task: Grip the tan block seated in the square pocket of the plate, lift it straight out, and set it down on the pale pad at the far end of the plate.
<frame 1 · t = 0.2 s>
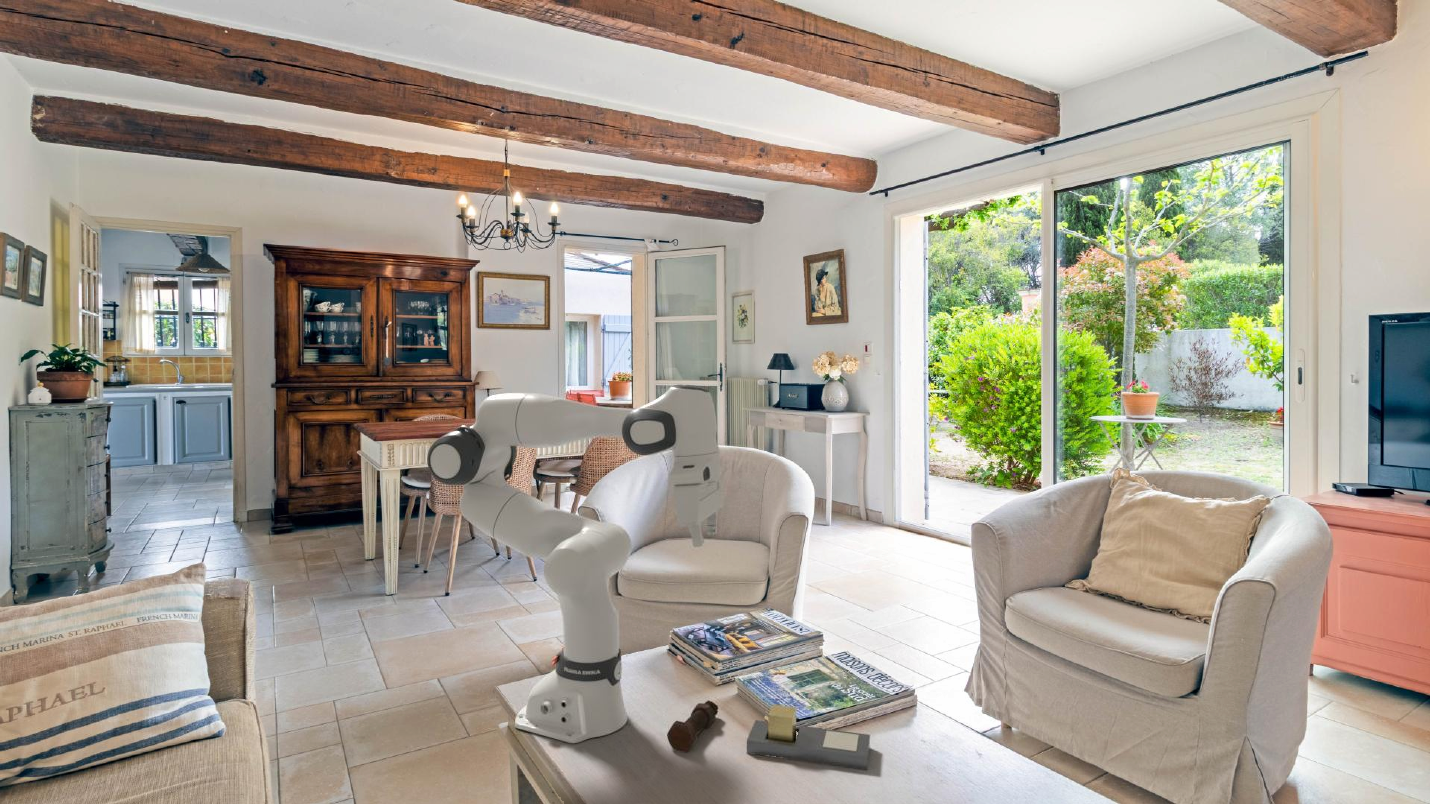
hand: (705, 540, 142), 39 cm above the table, tool pointing down, fingers open, 8 cm apart
tan block: (782, 747, 140), resting in plate
bolt: (697, 734, 146), on the table
plate: (808, 750, 139), on the table
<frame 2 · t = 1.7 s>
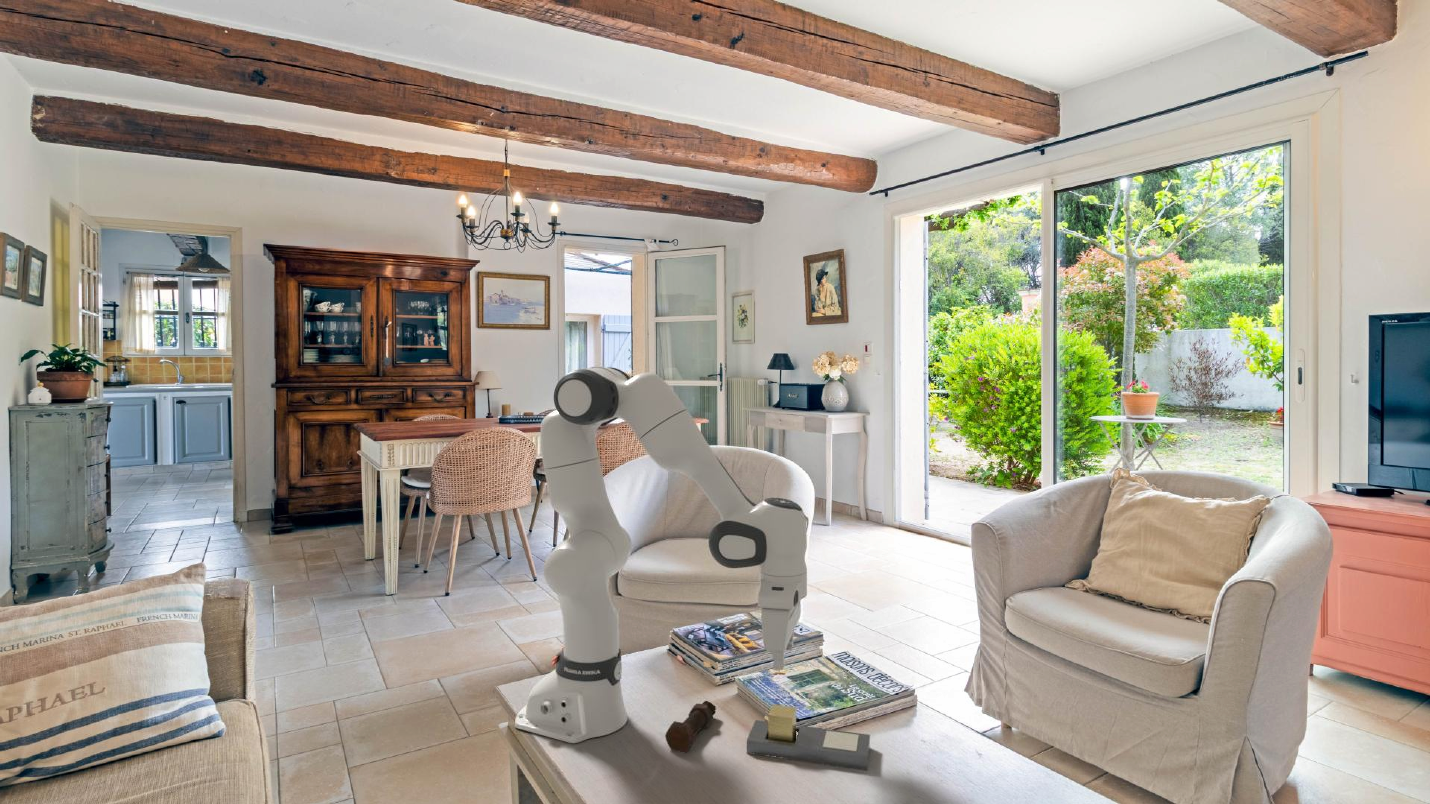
hand: (783, 658, 139), 17 cm above the table, tool pointing down, fingers open, 8 cm apart
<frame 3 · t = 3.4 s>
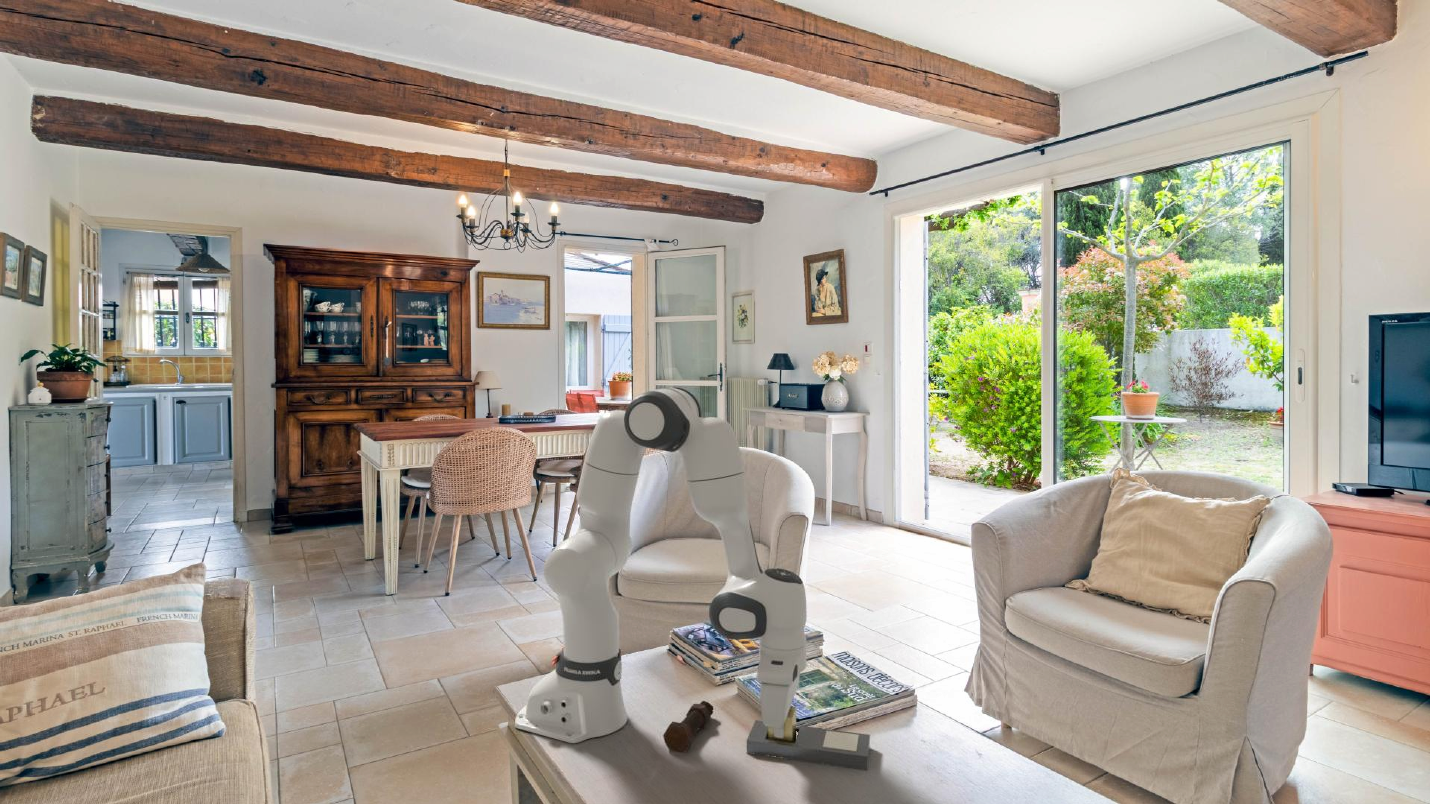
hand: (782, 728, 140), 4 cm above the table, tool pointing down, fingers closed on tan block, 4 cm apart
tan block: (782, 747, 140), resting in plate, touching gripper
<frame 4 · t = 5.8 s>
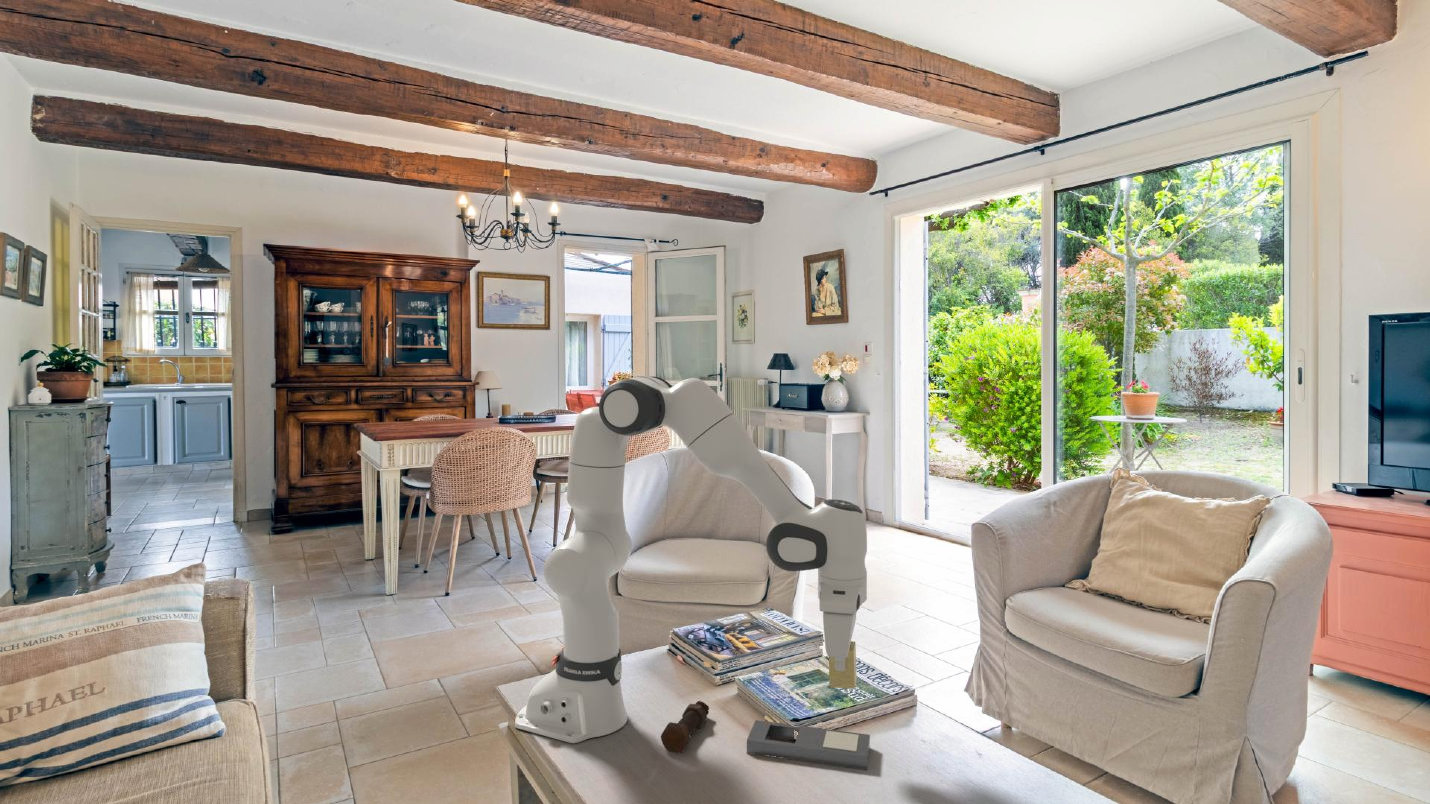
hand: (842, 663, 136), 17 cm above the table, tool pointing down, fingers closed on tan block, 4 cm apart
tan block: (843, 682, 137), point 14 cm above the table, touching gripper
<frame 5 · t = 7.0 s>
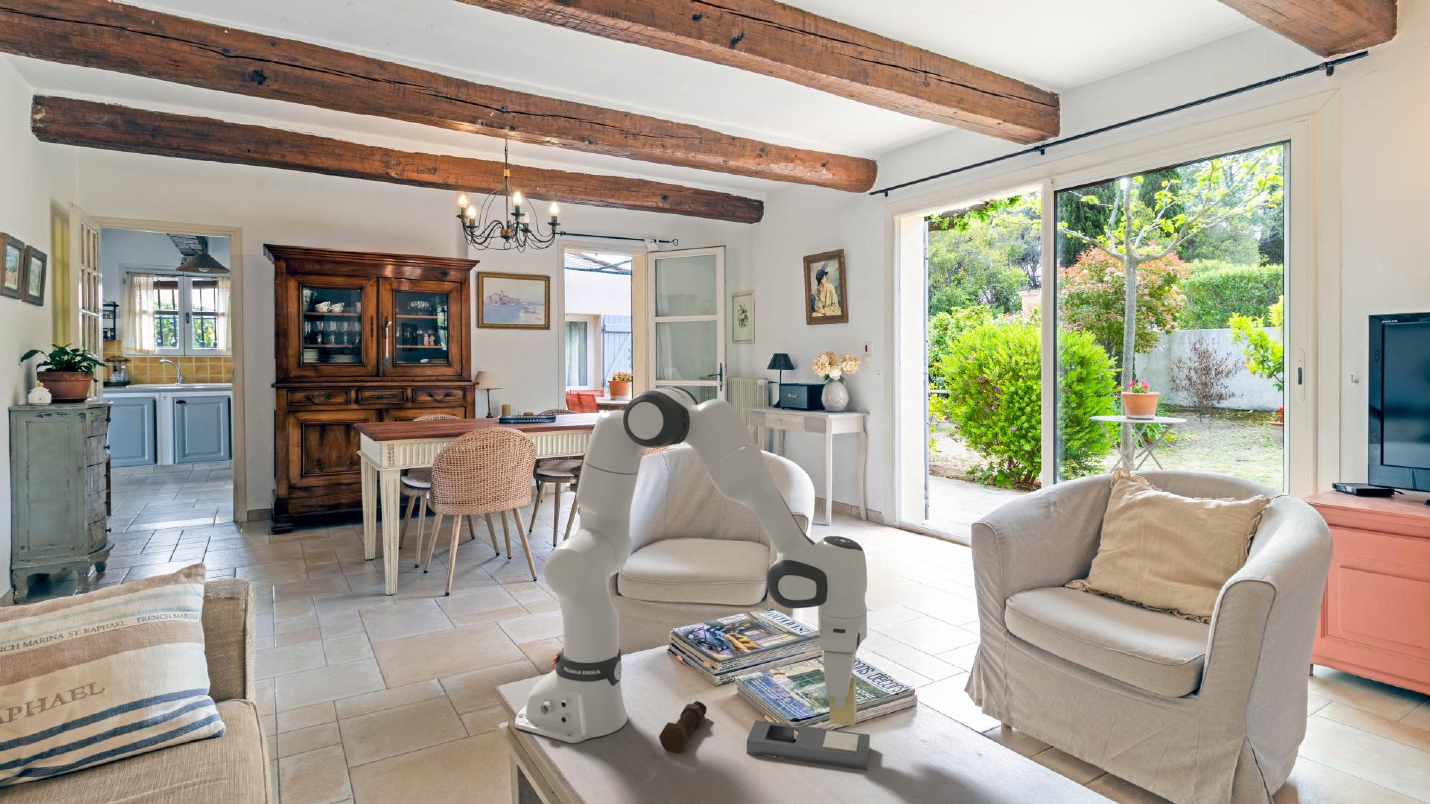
hand: (842, 699, 137), 11 cm above the table, tool pointing down, fingers closed on tan block, 4 cm apart
tan block: (843, 719, 137), point 7 cm above the table, touching gripper
when the fingers open (7 cm above the table, at t = 8.0 s): tan block stays where it is, resting on plate.
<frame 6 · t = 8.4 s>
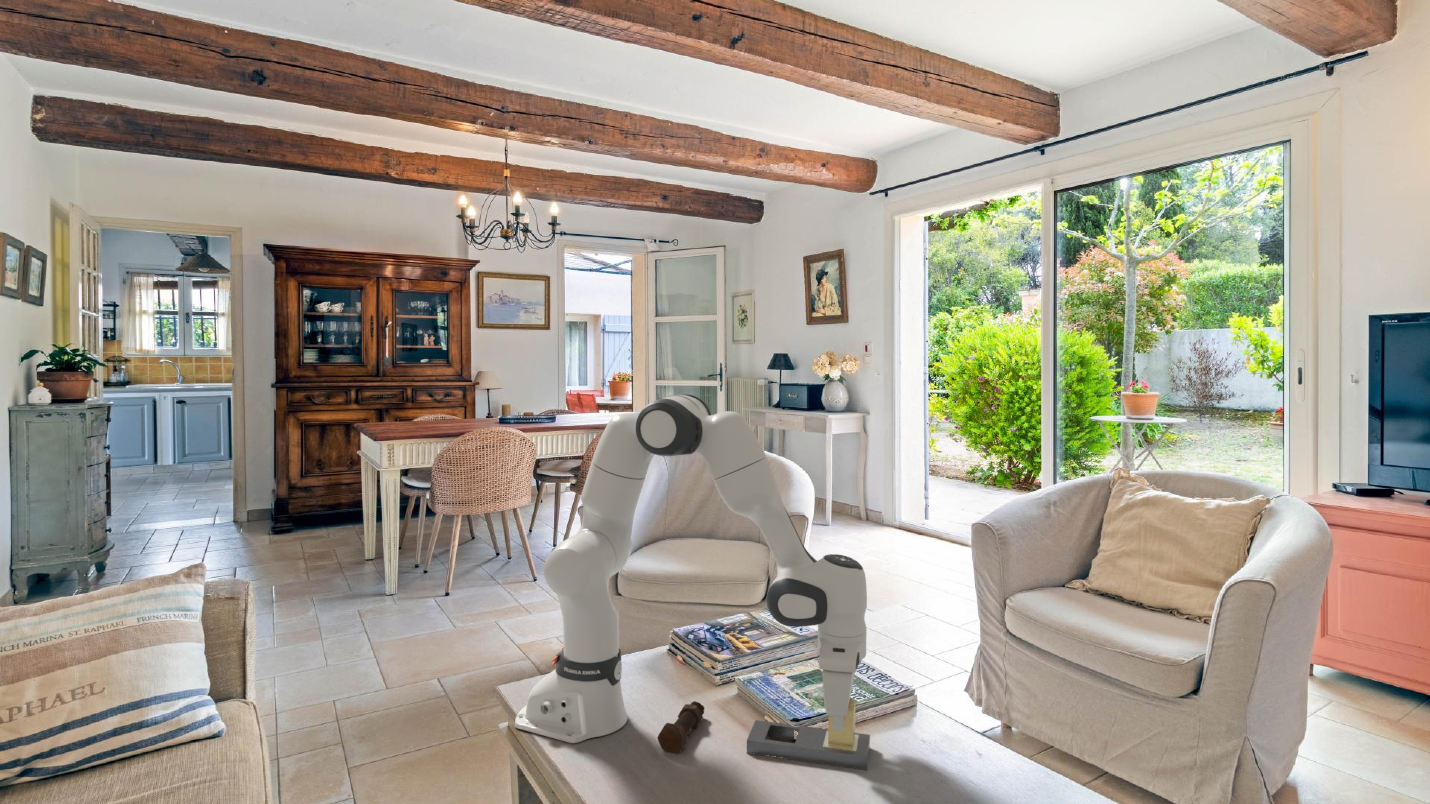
hand: (841, 717, 137), 7 cm above the table, tool pointing down, fingers open, 8 cm apart
tan block: (841, 740, 137), point 3 cm above the table, touching plate
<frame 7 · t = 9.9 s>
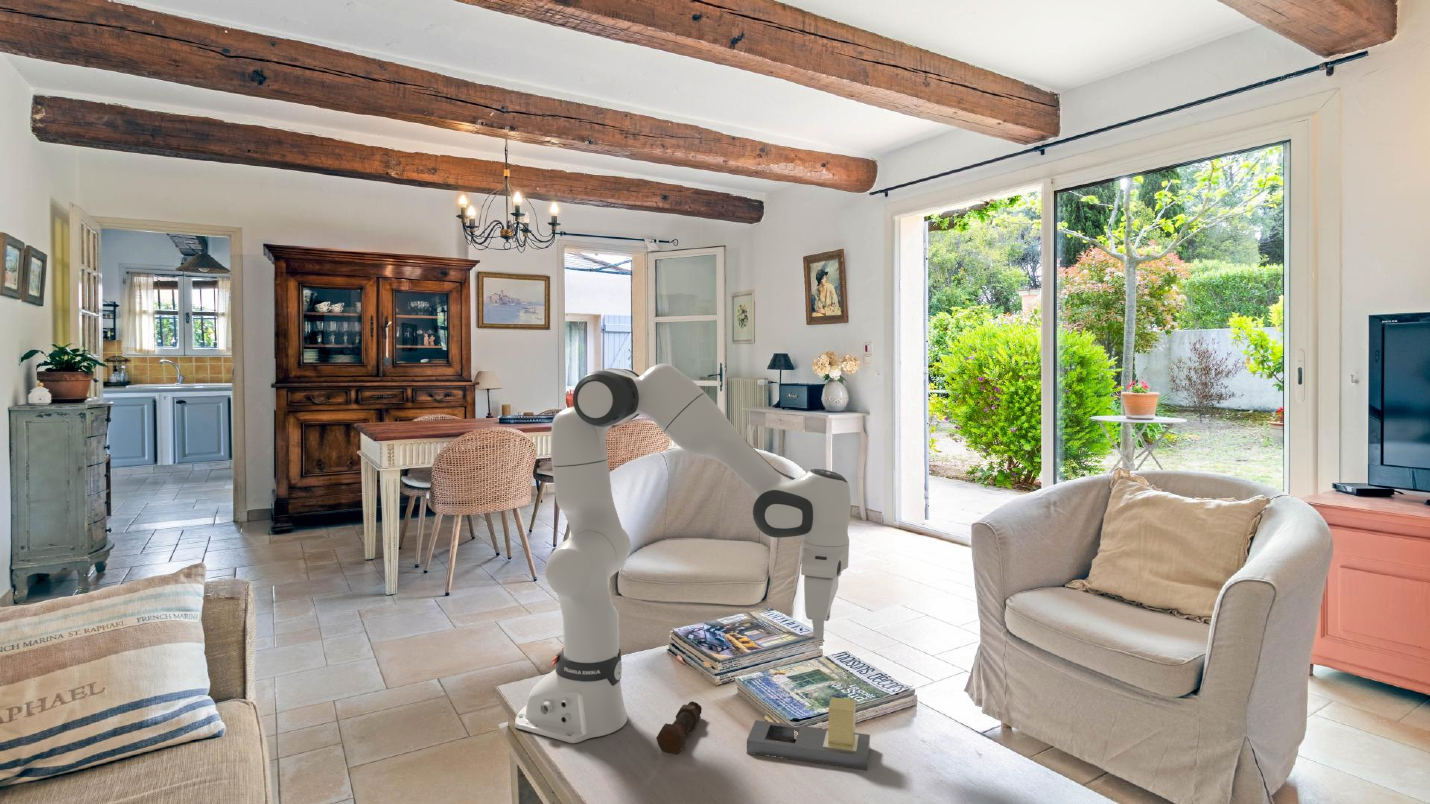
hand: (821, 627, 141), 22 cm above the table, tool pointing down, fingers open, 8 cm apart
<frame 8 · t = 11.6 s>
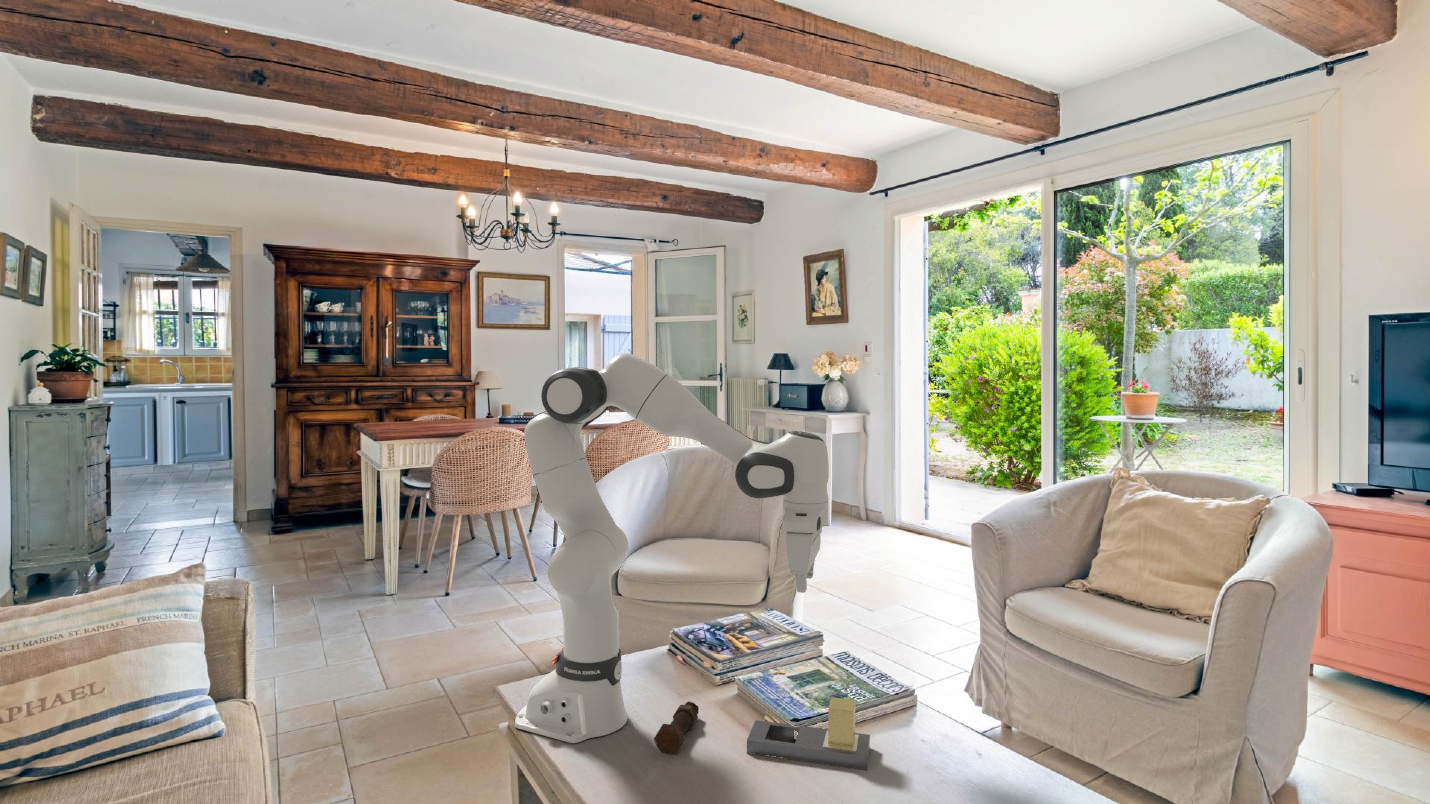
hand: (805, 584, 146), 29 cm above the table, tool pointing down, fingers open, 8 cm apart
at the end: tan block 0.1 cm from the target spot on the plate, point 2.7 cm above the plate's base; tan block tilted 0°; the gripper is holding nothing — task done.
